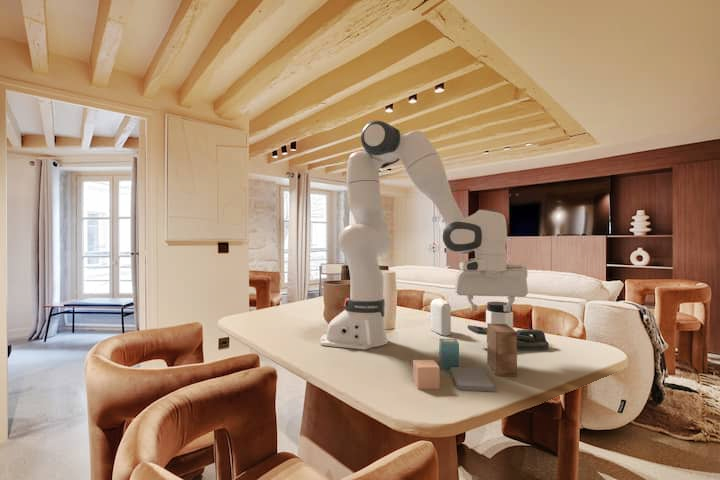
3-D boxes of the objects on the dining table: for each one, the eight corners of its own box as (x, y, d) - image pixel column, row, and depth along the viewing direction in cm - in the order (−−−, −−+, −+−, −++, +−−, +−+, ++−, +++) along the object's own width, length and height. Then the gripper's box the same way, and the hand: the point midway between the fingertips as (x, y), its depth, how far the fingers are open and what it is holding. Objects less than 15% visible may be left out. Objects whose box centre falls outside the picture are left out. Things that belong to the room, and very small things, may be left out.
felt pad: (457, 389, 81) (457, 385, 81) (450, 370, 93) (450, 366, 93) (494, 391, 80) (494, 386, 80) (481, 372, 92) (482, 368, 92)
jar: (516, 340, 122) (517, 305, 122) (493, 340, 121) (493, 305, 121) (504, 334, 131) (504, 301, 131) (482, 334, 130) (483, 301, 130)
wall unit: (496, 375, 89) (496, 331, 89) (486, 363, 99) (486, 323, 99) (517, 376, 89) (517, 332, 89) (506, 363, 98) (506, 323, 98)
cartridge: (441, 370, 93) (441, 342, 93) (439, 364, 98) (439, 338, 98) (458, 370, 93) (459, 343, 93) (456, 364, 97) (456, 338, 97)
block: (417, 389, 81) (417, 367, 81) (412, 381, 86) (413, 360, 86) (439, 389, 81) (439, 367, 81) (433, 380, 86) (433, 359, 86)
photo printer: (428, 329, 137) (429, 297, 137) (439, 329, 138) (439, 296, 138) (441, 336, 127) (441, 301, 127) (452, 335, 128) (452, 301, 128)
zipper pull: (464, 324, 117) (535, 323, 120) (464, 344, 117) (535, 342, 120) (476, 331, 108) (553, 329, 111) (476, 353, 108) (553, 350, 111)
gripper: (523, 264, 107) (523, 310, 107) (454, 263, 109) (453, 308, 109) (531, 265, 101) (531, 314, 101) (457, 264, 103) (457, 312, 103)
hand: (490, 311), depth 105 cm, fingers open, 8 cm apart
